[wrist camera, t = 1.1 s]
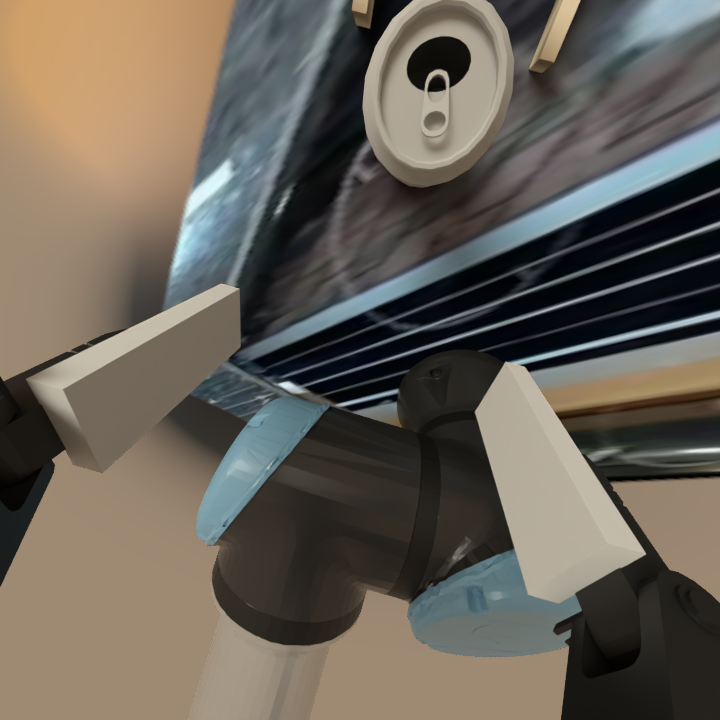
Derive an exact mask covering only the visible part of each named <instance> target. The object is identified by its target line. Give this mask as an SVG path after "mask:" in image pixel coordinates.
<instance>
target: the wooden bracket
mask: <svg viewBox="0 0 720 720" xmlns="http://www.w3.org/2000/svg"><path fill="white" fill-rule="evenodd" d="M374 1H375V0H353V6H352V12H353V15H354V18H355V21H356V24H357V25H358V26H361V27H365V28H369V29H370V25H371V19H372V13H373V7H374ZM579 3H580V0H556V2H555V4H554V7H553V10H552V12H551V15H550V17H549V20H548V22H547V25H546V27H545V30H544V32H543V35H542V37H541V40H540V42H539V45H538V47H537V50H536V53H535V55H534V58H533V60H532V63H531V65H530V68H529V70H532V71H536V72H540V73H543V72H544V71H545V70H546V69H547V68H548V67H549V66H551V65H552V64H553V63H554V61H555V59H556V57H557V54H558V52H559V50H560V47H561V45H562V43H563V40H564V38H565V36H566V33H567V31H568V29H569V26H570V24H571V22H572V19H573V17H574V14H575V12H576V10H577V7H578V5H579Z"/></svg>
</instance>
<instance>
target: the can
mask: <svg viewBox="0 0 720 720" xmlns="http://www.w3.org/2000/svg"><path fill="white" fill-rule="evenodd" d="M513 71H514V58H513V53H512V48H511V44H510V39H509V35H508V30H507V28H506V27H505V25H504V23H503V22H502V20H501V19H500V17H499V15H498V14H497V12H496V11H495V9H494V7H493V6H492V4H490V3H489V2H487V1H485V0H413V1H412V2H411V3H410V4H409V5H408V6H407V7H405V8H404V9H403V10H402V11H401V12H400V13H399V14H398V15H396V16H395V17H394V18H393V19H392V21H391V22H390V24H389V26H388V27H387V29H386V30H385V32H384V34H383V35H382V37H381V38H380V40H379V41H378V43H377V45H376V46H375V49H374V52H373V55H372V58H371V61H370V64H369V68H368V71H367V74H366V77H365V87H364V98H363V113H364V120H365V127H366V133H367V136H368V139H369V141H370V143H371V146H372V148H373V150H374V153H375V155H376V157H377V158H378V159H379V161H380V162H381V163H382V164H383V165H384V166H385V168H386V169H387V170H388V171H389V172H390V173H391V174H392V175H393V176H394V177H395V178H396V179H397V180H399V181H401V182H403V183H405V184H406V185H408V186H413V187H420V188H424V187H428V186H432V185H437V184H441V183H444V182H448V181H450V180H452V179H454V178H455V177H457V176H459V175H460V174H462V173H464V172H465V171H467V170H469V169H470V168H471V167H472V166H473V165H474V164H475V163H476V162H477V161H478V160H479V159H480V157H481V156H482V155H483V154H484V153H485V152H486V151H487V150H488V149H489V147H490V145H491V144H492V142H493V140H494V138H495V137H496V135H497V133H498V131H499V130H500V128H501V126H502V124H503V122H504V119H505V115H506V112H507V109H508V105H509V102H510V99H511V96H512V89H513Z"/></svg>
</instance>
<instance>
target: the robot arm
mask: <svg viewBox="0 0 720 720" xmlns="http://www.w3.org/2000/svg"><path fill="white" fill-rule="evenodd" d="M240 347H241V343H240V289H239V288H235V287H231V286H228V285H224V284H220V285H217V286H215V287H213V288H211V289H209V290H207V291H205V292H203V293H201V294H199V295H197V296H195V297H193V298H191V299H189V300H187V301H185V302H183V303H181V304H179V305H176V306H174V307H172V308H170V309H168V310H166V311H164V312H162V313H160V314H158V315H156V316H154V317H152V318H150V319H148V320H146V321H144V322H142V323H140V324H138V325H136V326H133V327H131V328H129V329H123V330H119V331H115V332H111V333H107V334H104V335H102V336H100V337H98V338H95V339H93V340H91V341H89V342H87V345H84V344H83V345H80V346H78V347H76V348H74V349H72V351H71V352H65V353H63V354H61V355H59V356H57V357H55V358H53V359H51V360H48V361H46V362H44V363H42V364H40V365H38V366H35V367H33V368H31V369H29V370H27V371H25V372H23V373H21V374H18V375H16V376H14V377H12V378H10V379H8V380H6V381H3V380H2V378H1V377H0V586H1V584H2V582H3V580H4V578H5V576H6V574H7V571H8V569H9V567H10V565H11V563H12V561H13V558H14V557H15V554H16V552H17V550H18V548H19V546H20V544H21V542H22V539H23V537H24V535H25V533H26V531H27V529H28V527H29V524H30V522H31V520H32V518H33V516H34V514H35V512H36V509H37V507H38V505H39V503H40V501H41V499H42V497H43V494H44V492H45V490H46V488H47V486H48V484H49V482H50V479H51V477H52V475H53V473H54V467H55V464H54V463H53V461H52V459H53V458H54V457H56V456H57V455H58V454H60V453H61V452H62V451H64V450H66V452H67V454H68V456H69V458H70V459H71V461H72V463H73V465H76V466H80V467H83V468H87V469H90V470H94V471H97V472H100V473H103V472H104V471H105V470H106V469H108V468H109V467H110V466H111V465H112V464H113V463H114V462H115V461H116V460H117V459H119V458H120V457H121V456H122V455H123V454H124V453H125V452H126V451H127V450H128V449H129V448H131V447H132V446H133V445H134V444H135V443H136V442H137V441H138V440H139V439H140V438H141V437H142V436H144V435H145V434H146V433H147V432H148V431H149V430H150V429H151V428H152V427H154V425H155V424H157V423H158V422H159V421H160V420H161V419H162V418H163V417H164V416H165V415H167V414H168V413H169V412H170V411H171V410H172V409H173V408H174V407H175V406H176V405H178V404H179V403H180V402H181V401H182V400H183V399H184V398H185V397H186V396H187V395H189V394H190V393H191V392H192V391H193V390H194V389H195V388H196V387H197V386H198V385H199V384H201V383H202V382H203V381H204V380H205V379H206V378H207V377H208V376H209V375H210V374H211V373H213V372H214V371H215V370H216V369H217V368H218V367H219V366H220V365H221V364H222V363H224V362H225V361H226V360H227V359H228V358H229V357H230V356H231V355H232V354H233V353H234V352H236V351H237V350H238V349H239V348H240ZM330 406H331V405H330V404H328V403H325V404H319V403H315V402H311V401H307V400H303V399H299V398H295V397H281V398H278V399H275V400H273V401H271V402H269V403H268V404H267V405H265V406H264V407H263V408H262V409H261V410H259V411H258V412H257V413H256V414H255V415H254V417H253V418H252V419H251V420H250V421H249V422H248V424H247V425H246V426H245V428H244V429H243V430H242V431H241V433H240V434H239V436H238V437H237V438H236V440H235V441H234V443H233V444H232V446H231V447H230V449H229V450H228V452H227V453H226V455H225V457H224V458H223V460H222V462H221V464H220V465H219V467H218V469H217V471H216V473H215V474H214V476H213V478H212V480H211V482H210V484H209V486H208V489H207V491H206V493H205V495H204V498H203V500H202V503H201V505H200V509H199V511H198V515H197V521H196V527H197V529H196V532H197V535H198V537H199V538H200V539H202V540H203V541H205V542H206V544H207V546H215V545H219V546H220V549H219V552H218V555H217V558H216V561H215V564H214V568H213V572H212V577H211V592H212V597H213V600H214V602H215V605H216V607H217V609H218V611H219V612H220V614H221V615H220V618H219V621H218V624H217V628H216V631H215V634H214V637H213V640H212V643H211V647H210V650H209V653H208V656H207V659H206V662H205V665H204V668H203V672H202V675H201V678H200V681H199V684H198V687H197V690H196V694H195V697H194V700H193V703H192V706H191V709H190V712H189V716H188V719H187V720H309V718H310V715H311V711H312V708H313V704H314V700H315V697H316V693H317V689H318V686H319V682H320V679H321V675H322V672H323V668H324V664H325V661H326V657H327V654H328V650H329V646H330V645H331V644H333V643H335V642H337V641H338V640H340V639H341V638H343V637H344V636H345V635H346V634H347V633H348V632H349V631H350V630H351V629H352V628H353V626H354V625H355V624H356V622H357V619H358V617H359V615H360V612H361V609H362V605H363V602H364V598H365V594H366V591H367V589H368V590H371V591H375V592H378V593H381V594H386V595H389V596H393V597H396V598H399V599H402V600H405V601H407V602H408V603H409V604H410V605H409V608H408V619H409V620H410V623H411V628H412V632H413V634H414V635H415V637H416V638H417V639H418V641H420V642H421V643H422V644H428V646H429V647H430V648H432V649H434V650H438V651H441V652H445V653H450V654H456V655H463V656H475V657H513V656H524V655H532V654H539V653H545V652H550V651H554V650H559V649H562V648H565V647H568V646H569V654H568V664H567V672H566V680H565V690H564V699H563V706H562V715H561V720H720V603H719V602H718V601H717V600H716V599H715V598H714V597H713V596H712V595H711V594H710V593H708V592H707V591H706V590H704V589H703V588H702V587H701V586H699V585H698V584H697V583H696V582H694V581H693V580H691V579H689V578H688V577H686V576H684V575H682V574H680V573H679V572H675V571H671V570H669V569H668V567H667V566H666V564H665V563H664V562H663V560H662V559H661V557H660V556H659V554H658V553H657V551H656V550H655V549H654V547H653V546H652V544H651V542H650V541H649V540H648V538H647V537H646V535H645V534H644V532H643V531H642V529H641V528H640V526H639V525H638V524H637V522H636V521H635V519H634V518H633V516H632V515H631V513H630V512H629V510H628V509H627V507H625V506H623V501H622V500H621V499H620V497H619V496H618V494H617V493H616V492H614V491H613V487H612V485H611V484H610V482H609V481H608V479H607V478H606V477H605V475H604V474H603V472H602V471H601V470H600V469H599V468H598V467H597V466H596V465H595V464H594V463H593V462H592V461H591V460H590V459H589V458H588V457H587V456H586V455H585V454H581V453H580V451H579V450H578V448H577V447H576V445H575V443H574V442H573V440H572V439H571V437H570V436H569V434H568V433H567V431H566V430H565V428H564V427H563V425H562V423H561V422H560V420H559V419H558V417H557V416H556V414H555V413H554V411H553V410H552V408H551V406H550V405H549V403H548V402H547V400H546V399H545V397H544V396H543V394H542V393H541V391H540V390H539V388H538V386H537V385H536V383H535V382H534V380H533V379H532V377H531V376H530V374H529V373H528V371H527V370H526V368H525V367H523V366H520V365H516V364H512V363H509V362H505V363H503V362H502V361H501V360H499V359H497V358H496V357H493V356H491V355H489V354H486V353H483V352H479V351H473V350H451V351H445V352H441V353H437V354H434V355H432V356H429V357H427V358H425V359H424V360H422V361H420V362H419V363H417V364H416V365H415V366H413V367H412V368H411V369H410V370H409V371H408V373H407V374H406V375H405V377H404V378H403V380H402V382H401V384H400V386H399V390H398V397H397V412H398V417H399V421H400V423H401V425H402V428H400V427H397V426H394V425H390V424H387V423H384V422H380V421H377V420H373V419H370V418H367V417H363V416H360V415H357V414H353V413H350V412H347V411H343V410H340V409H337V408H333V407H330Z"/></svg>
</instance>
